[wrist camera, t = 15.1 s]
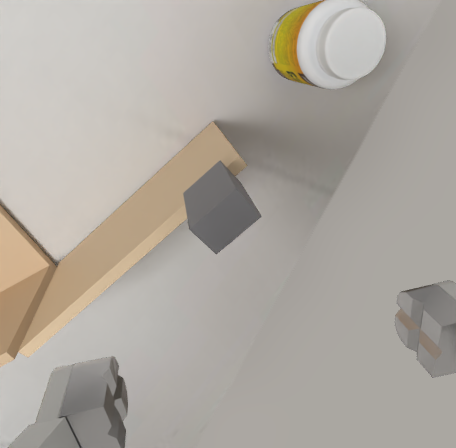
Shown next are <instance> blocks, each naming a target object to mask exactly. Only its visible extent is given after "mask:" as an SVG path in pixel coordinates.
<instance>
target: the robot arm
mask: <svg viewBox="0 0 456 448" xmlns="http://www.w3.org/2000/svg"><path fill="white" fill-rule="evenodd" d="M397 304H398V305H399V307H400V308H401V309H400V310H399V311H398V313H397V314H396V315H395V327H396V331H397V334H398V336H399V338H400V339H401V341H402V342H403V343H404V345H405V346H406V347H407V348H409V349H411V350H414V351H416V352H417V360H418V361H419V362H420V364H421V365H422V366H423V367H424V368H425V369H426V371H427V372H428V373H429V374H430V375H431V377H432V378H434V377H439V376H443V375H448V374H452V373H456V283H455V282H453V281H450V280H447V281H443V282H439V283H435V284H432V285H428V286H424V287H419V288H414V289H410V290H406V291H402V292H400V293H399V294H398V296H397ZM118 369H119V365H118V363H117V360H116V358H115V357H113V356H111V357H106V358H101V359H96V360H91V361H86V362H81V363H76V364H73V365H68V366H62V367H57V368H55V369H54V371H53V372H52V373H51V376H50V379H49V382H48V385H47V388H46V391H45V394H44V397H43V400H42V403H41V407H40V410H39V413H38V416H37V419H36V422H35V424H33V425H29V426H28V427H27V428H26V429H25V430H24V431H23V432H22V433H21V434H20V435H19V436H18V437H17V438H16V439H15V440H14V441H13V442H12V444H11V445H10V446H9V447H8V448H124V447H125V436H126V429H125V427H124V424H123V420H124V418H125V417H126V416H127V411H128V399H127V390H126V385H125V382H124V379H123V378H122V377H121V376H119V375H118Z"/></svg>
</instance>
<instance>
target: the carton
mask: <svg viewBox="0 0 456 448" xmlns="http://www.w3.org/2000/svg"><path fill="white" fill-rule="evenodd" d="M56 268H57V266H56V265H55V264H54V263H53V262H52V261H51V260H50V259H49V257H48V256H47V255H46V254H45V253H44V252H43V251H42V250H41V249H40V248H39V247H38V246H37V244H36V243H35V242H34V241H33V240H32V239H31V238H30V237H29V236H28V235H27V234H26V232H25V231H24V230H23V229H22V228H21V227H20V226H19V225H18V224H17V223H16V222H15V220H14V219H13V218H12V217H11V216H10V215H9V214H8V213H7V212H6V211H5V210H4V208H3V207H2V206H1V205H0V367H1V366H3V365H5V364H7V363H9V362H10V361H12V360H14V359H15V357H16V355H17V353H18V351H19V349H20V346H21V344H22V342H23V340H24V338H25V336H26V333H27V331H28V329H29V327H30V325H31V323H32V320H33V318H34V316H35V314H36V312H37V310H38V307H39V305H40V303H41V301H42V299H43V297H44V294H45V292H46V290H47V288H48V286H49V284H50V281H51V279H52V277H53V275H54V273H55V271H56Z"/></svg>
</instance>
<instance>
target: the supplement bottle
mask: <svg viewBox="0 0 456 448" xmlns="http://www.w3.org/2000/svg"><path fill="white" fill-rule="evenodd" d="M385 46H386V30H385V26H384V24H383V21H382V20H381V18H380V17H379V16H378V15H377V14H376V13H375V12H374V11H372V10H370V9H369V8H368V7H367V6H366V5H365V4H364V3H363V2H361V1H360V0H323V1H319V2H316V3H312V4H308V5H305V6H301V7H298V8H295V9H292V10H290V11H288V12H287V13H285V14H284V15H283V16H281V17H280V18H279V19H278V21H277V22H276V23H275V25H274V27H273V29H272V31H271V34H270V37H269V42H268V52H269V57H270V61H271V63H272V65H273V67H274V69H275V70H276V71H277V72H278V73H279V74H280V75H281V76H283V77H284V78H286V79H289V80H292V81H296V82H300V83H304V84H308V85H312V86H316V87H320V88H324V89H340V88H344V87H347V86H349V85H351V84H352V83H354V82H355V81H357V80H358V79H359V78H361V77H364V76H366V75H367V74H369V73H370V72H371V71H372V70H373V69H374V68H375V67H376V66H377V64H378V63H379V62H380V60H381V58H382V56H383V53H384V50H385Z"/></svg>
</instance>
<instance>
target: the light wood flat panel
mask: <svg viewBox="0 0 456 448" xmlns="http://www.w3.org/2000/svg"><path fill="white" fill-rule="evenodd" d="M246 166H247V164H246V163H245V162H244V160H243V159H242V158H241V156H240V155H239V154H238V153H237V151H236V150H235V149H234V147H233V146H232V145H231V143H230V142H229V141H228V140H227V138H226V137H225V136H224V134H223V133H222V132H221V130H220V129H219V128H218V127H217V126H216V124H215V123H214V122H212V123H210V124H209V125H208V126H207V127H206V128H205V129H204V130H203V131H202V132H201V133H200V134H198V135H197V136H196V137H195V138H194V139H193V140H192V141H191V142H190V143H189V144H188V145H187V146H185V147H184V148H183V149H182V150H181V151H180V152H179V153H178V154H177V155H176V156H175V157H173V158H172V159H171V160H170V161H169V162H168V163H167V164H166V165H165V166H164V167H163V168H162V169H160V170H159V171H158V172H157V173H156V174H155V175H154V176H153V177H152V178H151V179H150V180H148V181H147V182H146V183H145V184H144V185H143V186H142V187H141V188H140V189H139V190H138V191H137V192H135V193H134V194H133V195H132V196H131V197H130V198H129V199H128V200H127V201H126V202H125V203H123V204H122V205H121V206H120V207H119V208H118V209H117V210H116V211H115V212H114V213H113V214H112V215H110V216H109V217H108V218H107V219H106V220H105V221H104V222H103V223H102V224H101V225H100V226H99V227H97V228H96V229H95V230H94V231H93V232H92V233H91V234H90V235H89V236H88V237H87V238H85V239H84V240H83V241H82V242H81V243H80V244H79V245H78V246H77V247H76V248H75V249H74V250H72V251H71V252H70V253H69V254H68V255H67V256H66V257H65V258H64V259H63V260H62V261H60V262H59V264H58V266H57V268H56V271H55V273H54V275H53V277H52V279H51V281H50V284H49V286H48V288H47V290H46V292H45V294H44V297H43V299H42V301H41V303H40V305H39V307H38V310H37V312H36V314H35V316H34V318H33V320H32V323H31V325H30V327H29V329H28V331H27V333H26V336H25V338H24V340H23V342H22V344H21V347H20V349H19V351H18V352H19V353H21V354H23V355H25V356H26V357H29V356H31V355H32V354H33V353H34V352H35V351H36V350H37V349H39V348H40V347H41V346H42V345H43V344H44V343H45V342H47V341H48V340H49V339H50V338H51V337H52V336H53V335H55V334H56V333H57V332H58V331H59V330H60V329H61V328H63V327H64V326H65V325H66V324H67V323H68V322H69V321H70V320H72V319H73V318H74V317H75V316H76V315H77V314H78V313H80V312H81V311H82V310H83V309H84V308H85V307H86V306H88V305H89V304H90V303H91V302H92V301H93V300H94V299H96V298H97V297H98V296H99V295H100V294H101V293H102V292H104V291H105V290H106V289H107V288H108V287H109V286H110V285H112V284H113V283H114V282H115V281H116V280H117V279H118V278H120V277H121V276H122V275H123V274H124V273H125V272H126V271H128V270H129V269H130V268H131V267H132V266H133V265H134V264H136V263H137V262H138V261H139V260H140V259H141V258H142V257H144V256H145V255H146V254H147V253H148V252H149V251H150V250H152V249H153V248H154V247H155V246H156V245H157V244H158V243H160V242H161V241H162V240H163V239H164V238H165V237H166V236H168V235H169V234H170V233H171V232H172V231H173V230H174V229H176V228H177V227H178V226H179V225H180V224H181V223H182V222H184V221H185V220H186V219H188V224H189V230H191V231H192V232H193V233H194V234H195V235H196V236H197V237H198V238H199V239H200V240H201V241H202V242H203V243H205V244H206V245H207V246H208V247H209V248H210V249H211V250H212V251H213V252H214V253H215V254H217V253H219V252H220V251H221V250H222V249H223V248H225V247H226V246H227V245H228V244H229V243H230V242H232V241H233V240H234V239H235V238H236V237H238V236H239V235H240V234H241V233H242V232H244V231H245V230H246V229H247V228H248V227H250V226H251V225H252V224H253V223H254V222H256V221H257V220H258V219H259V218H260V217H261V215H260V213H259V211H258V210H257V208H256V207H255V205H254V203H253V202H252V200H251V198H250V197H249V195H248V194H247V192H246V190H245V189H244V187H243V186H242V184H241V183H240V181H239V180H238V179H237V178H236V177H235V176H236V175H237V174H238V173H240V172H241V171H242V170H243V169H244V168H245V167H246Z"/></svg>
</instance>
